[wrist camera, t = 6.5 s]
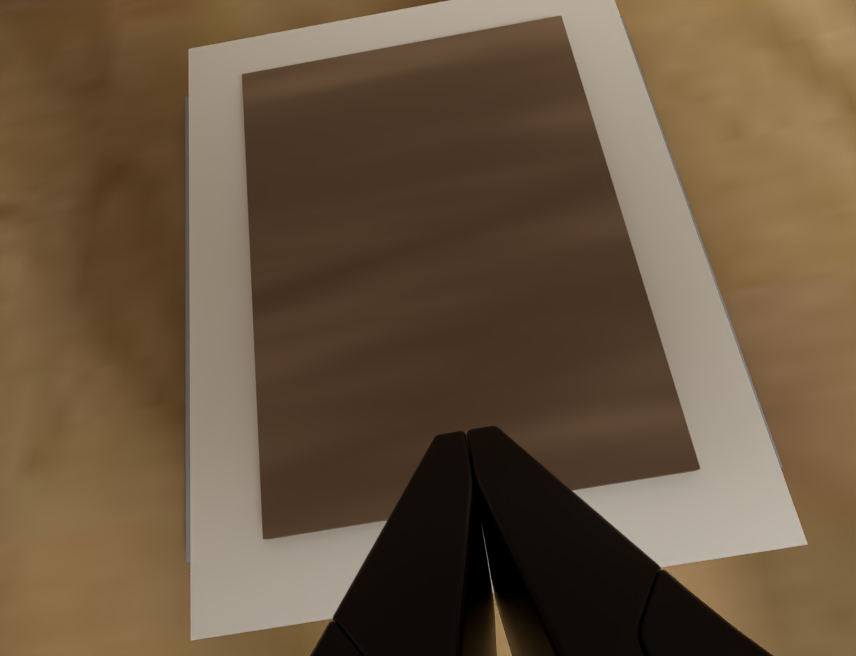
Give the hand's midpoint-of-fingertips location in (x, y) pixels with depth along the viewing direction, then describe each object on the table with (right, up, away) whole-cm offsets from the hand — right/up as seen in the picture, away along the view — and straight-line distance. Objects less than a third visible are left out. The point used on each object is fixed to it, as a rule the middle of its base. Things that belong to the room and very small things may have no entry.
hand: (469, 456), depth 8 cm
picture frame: (+1, -4, +5) cm, 6 cm away
